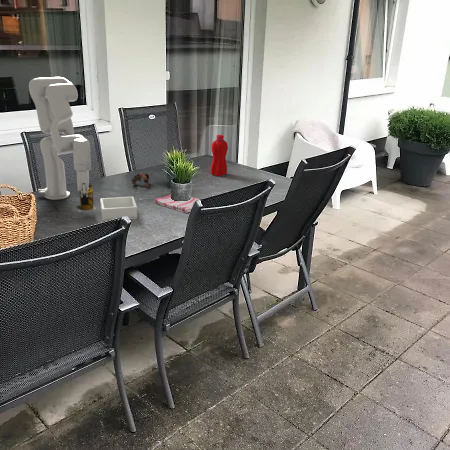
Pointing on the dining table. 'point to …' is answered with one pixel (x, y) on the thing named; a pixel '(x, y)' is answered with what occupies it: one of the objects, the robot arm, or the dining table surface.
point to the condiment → (90, 200)
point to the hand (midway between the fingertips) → (84, 201)
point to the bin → (118, 208)
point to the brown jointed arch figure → (138, 178)
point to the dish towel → (176, 203)
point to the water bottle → (219, 156)
